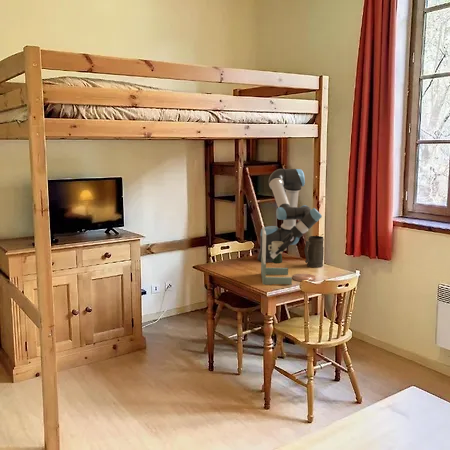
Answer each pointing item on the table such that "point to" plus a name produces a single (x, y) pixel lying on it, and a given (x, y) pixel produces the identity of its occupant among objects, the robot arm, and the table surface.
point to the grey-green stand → (272, 271)
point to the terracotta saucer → (304, 277)
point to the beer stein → (314, 251)
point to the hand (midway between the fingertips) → (271, 255)
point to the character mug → (273, 248)
